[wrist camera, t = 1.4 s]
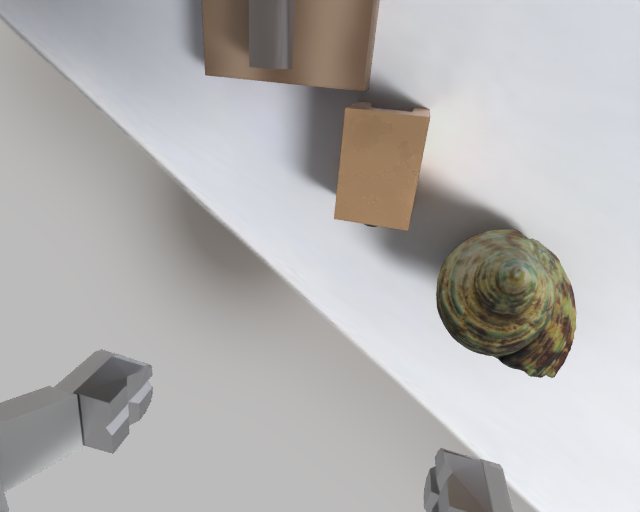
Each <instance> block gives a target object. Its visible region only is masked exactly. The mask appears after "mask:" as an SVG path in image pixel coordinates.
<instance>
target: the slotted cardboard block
mask: <svg viewBox="0 0 640 512" xmlns="http://www.w3.org/2000/svg"><path fill="white" fill-rule="evenodd" d="M429 121H430V110H429V109H420V108H414V109H413V112H409V111H400V110H391V109H381V108H372V103H364V102H355V103H353V104H352V105H350V106H348V107H346V108H345V115H344V125H343V135H342V145H341V155H340V165H339V175H338V185H337V195H336V205H335V215H334V219H338V220H344V221H351V222H357V223H363V224H365V225H367V226H370V227H377V226H381V227H387V228H394V229H400V230H406V231H408V229H409V224H410V219H411V214H412V208H413V203H414V198H415V193H416V188H417V183H418V177H419V172H420V167H421V162H422V157H423V152H424V146H425V141H426V136H427V131H428V126H429Z"/></svg>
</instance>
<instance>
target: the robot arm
mask: <svg viewBox="0 0 640 512" xmlns="http://www.w3.org/2000/svg"><path fill="white" fill-rule="evenodd" d="M151 376H152V366H151V365H149V364H147V363H144V362H141V361H137V360H134V359H131V358H128V357H125V356H122V355H119V354H115V353H111V352H108V351H105V350H99V351H96V352H94V353H93V354H92V355H91V356H90V357H89V358H87V359H86V360H85V361H84V362H83V363H82V364H80V365H79V366H78V367H77V368H76V369H75V370H74V371H72V372H71V373H70V374H69V375H68V376H67V377H65V378H64V379H63V380H62V381H61V382H60V383H58V384H57V385H56V386H55V387H51V386H47V387H45V388H42V389H39V390H36V391H33V392H31V393H27V394H25V395H22V396H19V397H16V398H13V399H10V400H7V401H4V402H2V403H0V512H8V511H9V508H8V505H7V501H6V497H5V493H4V492H6V491H7V490H9V489H11V488H13V487H14V486H16V485H18V484H20V483H21V482H23V481H25V480H27V479H28V478H30V477H32V476H33V475H35V474H37V473H39V472H40V471H42V470H44V469H46V468H47V467H49V466H51V465H53V464H55V463H56V462H58V461H60V460H62V459H63V458H65V457H67V456H68V455H70V454H72V453H73V452H75V451H77V450H79V449H80V448H82V447H83V445H84V446H88V447H92V448H95V449H99V450H103V451H106V452H109V453H114V452H115V451H116V449H117V448H118V447H119V446H120V444H121V443H122V442H123V441H124V439H125V438H126V437H127V436H128V434H129V425H131V424H133V423H135V422H137V421H139V420H140V419H141V418H142V416H143V415H144V414H145V412H146V411H147V408H148V406H149V404H150V402H151V398H152V394H153V393H152V389H153V387H152V386H151V384H150V383H149V381H148V380H149V379H150V377H151ZM435 465H436V466H435V467H433V468H431V469H430V470H429V473H428V475H427V478H426V483H425V488H424V508H425V510H426V512H514V510H513V506H512V502H511V499H510V495H509V491H508V487H507V483H506V479H505V476H504V472H503V468H502V467H501V466H500V464H496V463H493V462H489V461H485V460H482V459H478V458H475V457H471V456H468V455H464V454H461V453H457V452H453V451H450V450H446V449H443V448H441V449H440V450H438V452H437V454H436V456H435Z"/></svg>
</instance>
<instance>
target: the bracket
mask: <svg viewBox="0 0 640 512" xmlns="http://www.w3.org/2000/svg"><path fill="white" fill-rule="evenodd" d="M378 8H379V0H202V16H203V37H204V58H205V75H208V76H218V77H228V78H238V79H248V80H257V81H267V82H277V83H287V84H296V85H306V86H316V87H326V88H336V89H345V90H355V91H365V90H367V89H369V81H370V73H371V65H372V57H373V49H374V41H375V32H376V24H377V16H378Z"/></svg>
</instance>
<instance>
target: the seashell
mask: <svg viewBox="0 0 640 512" xmlns="http://www.w3.org/2000/svg"><path fill="white" fill-rule="evenodd" d="M436 296H437V309H438V312H439V315H440V318H441V320H442V322H443V324H444V326H445V327H446V329H447V331H448V332H449V333H450V335H451V336H452V337H453V338H454V339H455V340H456V341H457V342H458V343H460V344H461V345H463V346H464V347H465V348H467V349H469V350H471V351H473V352H476V353H479V354H484V355H488V356H494V357H496V358H498V359H499V360H500V361H501V362H502V363H503V364H505V365H507V366H508V367H511V368H513V369H519V370H522V371H525V372H526V373H527V374H528V375H529V376H533V377H540V378H541V377H543V376H545V375H547V376H549V377H551V378H553V377H555V375H556V374H557V372H558V370H559V369H560V367H561V366H562V365H563V364H564V362H565V360H566V357H567V355H568V353H569V351H570V350H571V345H572V342H573V339H574V332H575V330H576V309H575V299H574V294H573V290H572V286H571V283H570V281H569V279H568V277H567V275H566V273H565V271H564V269H563V267H562V266H561V264H560V261H559V259H558V258H557V257H556V256H555V255H554V254H553V253H552V252H551V251H550V250H548V249H547V248H546V247H544V246H543V245H542V244H541V243H540V242H538V241H537V240H534V239H528V238H527V237H525V236H523V235H522V233H521V232H519V231H516V230H491V231H487V232H483V233H480V234H477V235H475V236H473V237H471V238H469V239H467V240H466V241H464V242H463V243H462V244H460V245H459V246H458V247H456V248H455V249H454V250H453V251H452V252H451V254H450V255H449V256H448V257H447V259H446V260H445V261H444V263H443V266H442V268H441V271H440V274H439V276H438V281H437V292H436Z"/></svg>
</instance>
